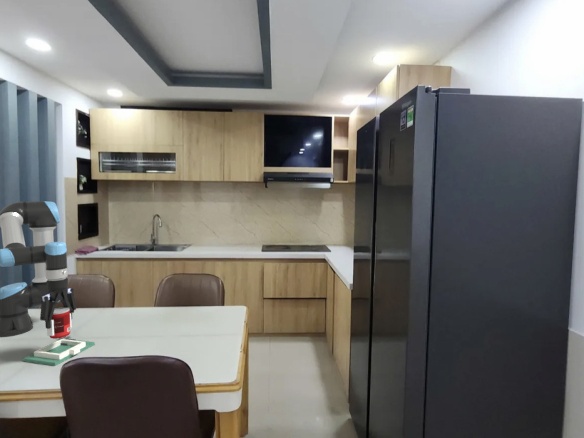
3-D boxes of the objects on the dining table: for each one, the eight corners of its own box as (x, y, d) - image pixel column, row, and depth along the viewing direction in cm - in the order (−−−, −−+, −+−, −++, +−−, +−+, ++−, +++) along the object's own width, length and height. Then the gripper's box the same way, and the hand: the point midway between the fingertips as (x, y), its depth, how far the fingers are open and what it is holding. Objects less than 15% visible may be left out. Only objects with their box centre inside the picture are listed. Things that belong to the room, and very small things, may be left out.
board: (23, 361, 141) (23, 353, 141) (66, 341, 161) (65, 334, 160) (58, 366, 137) (57, 358, 137) (97, 345, 157) (97, 338, 156)
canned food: (67, 330, 153) (65, 305, 152) (73, 334, 148) (72, 309, 147) (46, 335, 147) (45, 310, 146) (52, 340, 142) (51, 314, 141)
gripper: (41, 285, 135) (44, 342, 136) (84, 273, 155) (86, 323, 156) (26, 284, 137) (29, 340, 138) (70, 273, 157) (73, 322, 158)
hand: (59, 331), depth 147 cm, fingers closed on canned food, 8 cm apart
